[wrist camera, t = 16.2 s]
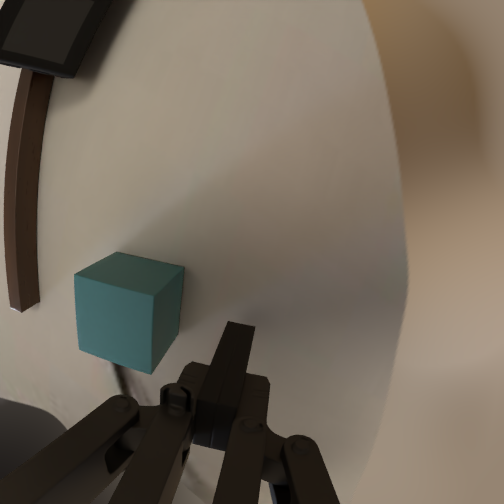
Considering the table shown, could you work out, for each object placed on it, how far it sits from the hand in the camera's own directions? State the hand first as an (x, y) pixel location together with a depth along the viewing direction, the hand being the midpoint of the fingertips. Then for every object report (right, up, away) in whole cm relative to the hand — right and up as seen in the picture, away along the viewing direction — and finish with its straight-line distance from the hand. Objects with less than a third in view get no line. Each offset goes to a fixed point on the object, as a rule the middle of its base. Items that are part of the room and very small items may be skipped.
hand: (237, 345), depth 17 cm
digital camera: (-9, +21, -2) cm, 23 cm away
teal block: (-6, +2, +4) cm, 8 cm away
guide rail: (-14, +21, 0) cm, 25 cm away
